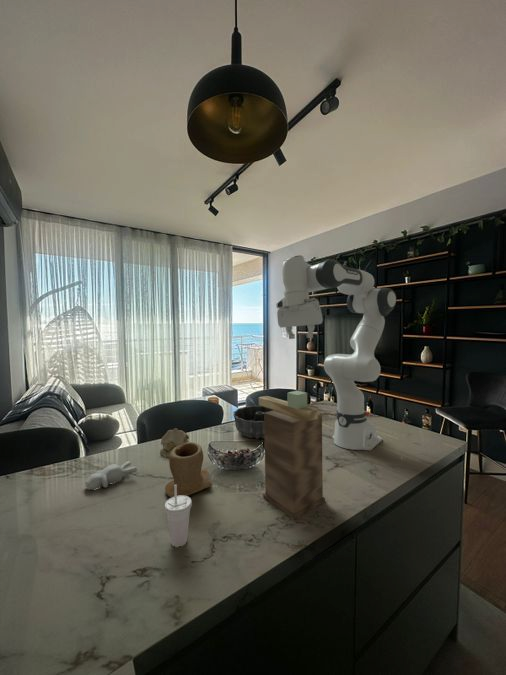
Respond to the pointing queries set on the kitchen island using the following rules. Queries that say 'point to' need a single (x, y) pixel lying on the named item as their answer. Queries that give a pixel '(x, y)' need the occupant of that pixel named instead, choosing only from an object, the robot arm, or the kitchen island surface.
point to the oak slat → (288, 408)
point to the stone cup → (187, 470)
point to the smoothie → (178, 517)
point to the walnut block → (293, 462)
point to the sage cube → (297, 399)
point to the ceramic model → (172, 441)
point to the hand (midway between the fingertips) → (300, 338)
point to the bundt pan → (251, 421)
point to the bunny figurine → (108, 475)
